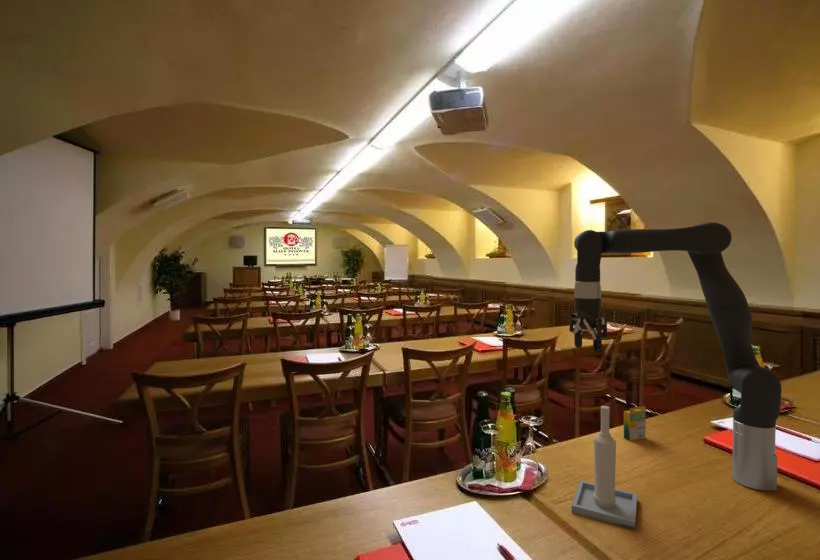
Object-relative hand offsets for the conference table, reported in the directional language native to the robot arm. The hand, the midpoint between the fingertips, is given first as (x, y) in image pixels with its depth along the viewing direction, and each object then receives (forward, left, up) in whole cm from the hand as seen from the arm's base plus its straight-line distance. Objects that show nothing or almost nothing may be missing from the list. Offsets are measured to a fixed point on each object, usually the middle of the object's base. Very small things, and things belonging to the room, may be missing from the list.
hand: (587, 349), depth 127 cm
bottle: (-7, +21, -36) cm, 42 cm away
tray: (-7, +21, -36) cm, 42 cm away
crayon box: (-12, -30, -36) cm, 49 cm away
